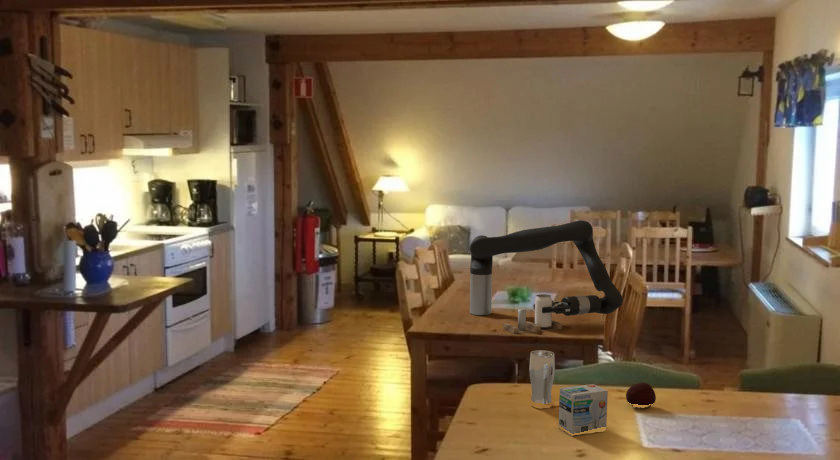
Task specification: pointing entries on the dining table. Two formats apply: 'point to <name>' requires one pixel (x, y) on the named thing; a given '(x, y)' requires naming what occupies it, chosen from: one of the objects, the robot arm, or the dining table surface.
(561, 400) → the light bulb box
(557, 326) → the rail
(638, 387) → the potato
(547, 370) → the beer glass
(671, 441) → the dining table surface
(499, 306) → the dining table surface
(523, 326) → the grey peg
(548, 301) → the can
